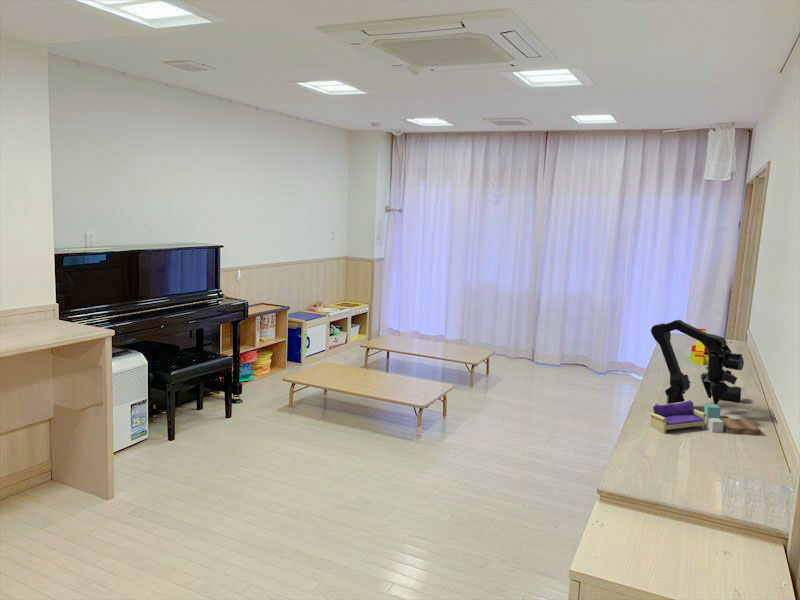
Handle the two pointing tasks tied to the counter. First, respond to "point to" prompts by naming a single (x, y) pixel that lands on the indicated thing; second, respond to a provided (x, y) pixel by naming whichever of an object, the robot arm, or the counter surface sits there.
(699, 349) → the building blocks toy
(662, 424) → the toy sofa
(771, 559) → the counter surface
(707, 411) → the teal block
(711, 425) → the grey cube
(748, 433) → the base block
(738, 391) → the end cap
